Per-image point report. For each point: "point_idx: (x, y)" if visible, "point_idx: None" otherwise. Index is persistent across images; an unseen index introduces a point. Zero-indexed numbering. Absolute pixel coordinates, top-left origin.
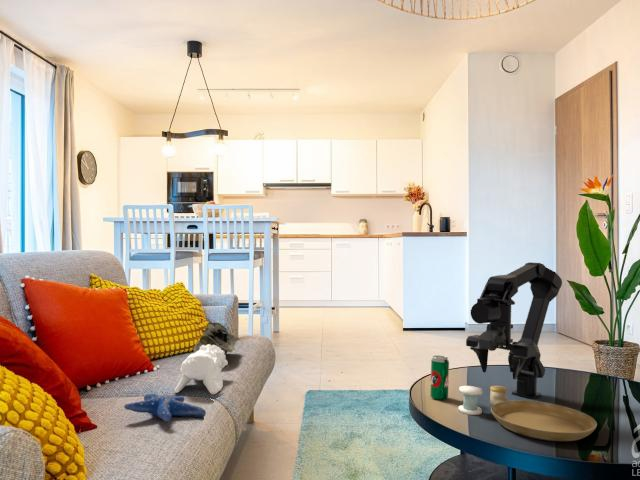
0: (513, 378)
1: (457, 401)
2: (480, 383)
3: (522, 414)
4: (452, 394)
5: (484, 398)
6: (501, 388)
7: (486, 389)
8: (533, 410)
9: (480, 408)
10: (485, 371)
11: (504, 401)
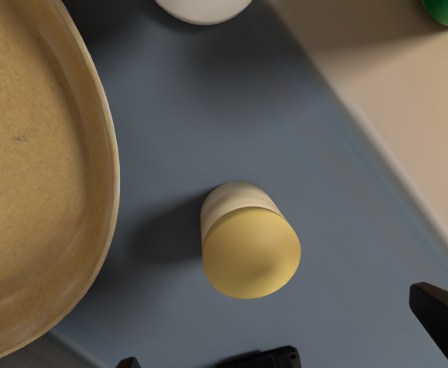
0: (125, 362)
1: (361, 34)
2: None
3: (40, 181)
4: (443, 108)
5: (315, 209)
6: (235, 266)
7: (385, 301)
8: (65, 264)
9: (172, 5)
10: (413, 305)
11: (113, 158)
